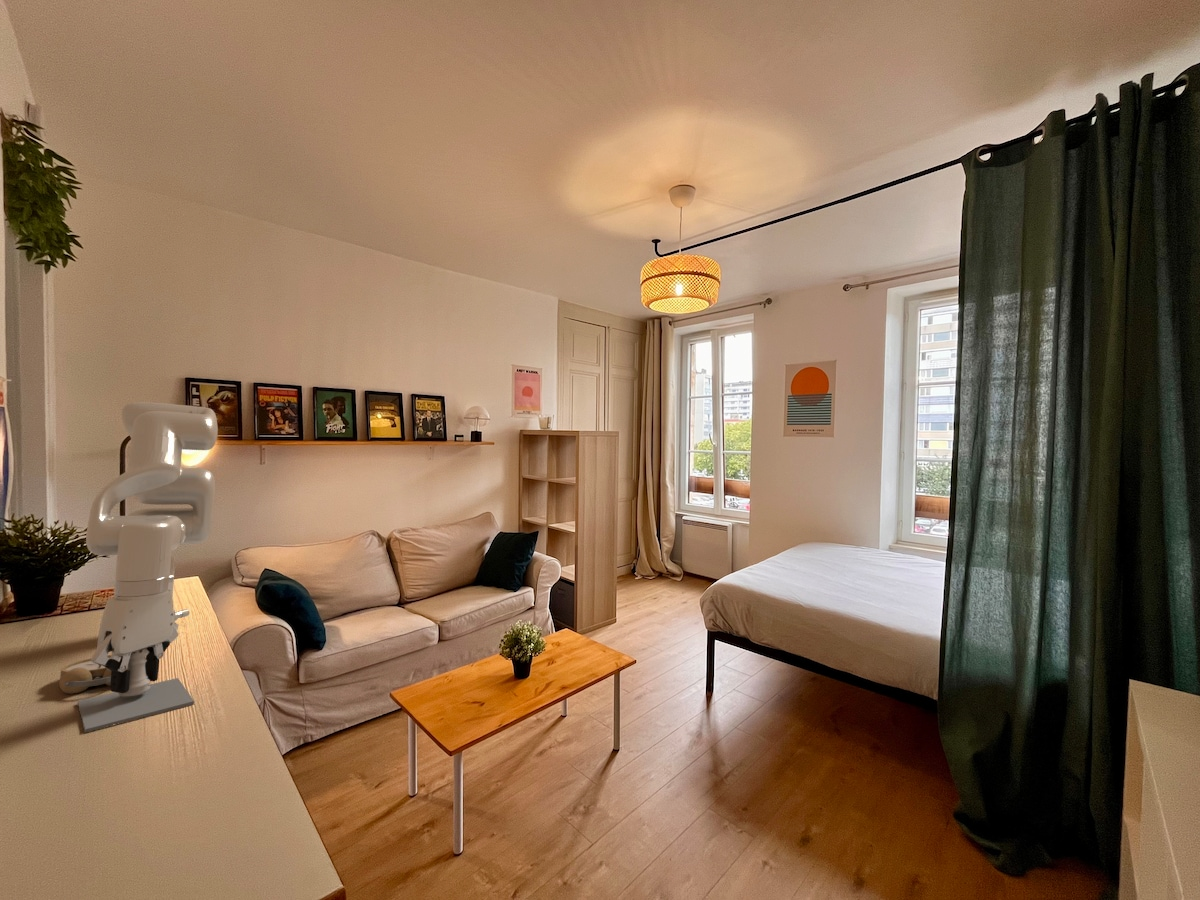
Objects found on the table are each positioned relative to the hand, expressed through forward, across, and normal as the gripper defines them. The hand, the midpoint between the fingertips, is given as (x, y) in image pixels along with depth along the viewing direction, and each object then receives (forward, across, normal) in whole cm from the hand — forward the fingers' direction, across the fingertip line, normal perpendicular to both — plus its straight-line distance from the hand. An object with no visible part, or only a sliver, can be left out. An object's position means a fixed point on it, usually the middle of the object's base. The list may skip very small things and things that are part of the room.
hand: (134, 684), depth 92 cm
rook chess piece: (+2, 0, 0) cm, 2 cm away
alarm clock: (+3, -4, -14) cm, 15 cm away
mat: (+3, +1, +2) cm, 4 cm away
